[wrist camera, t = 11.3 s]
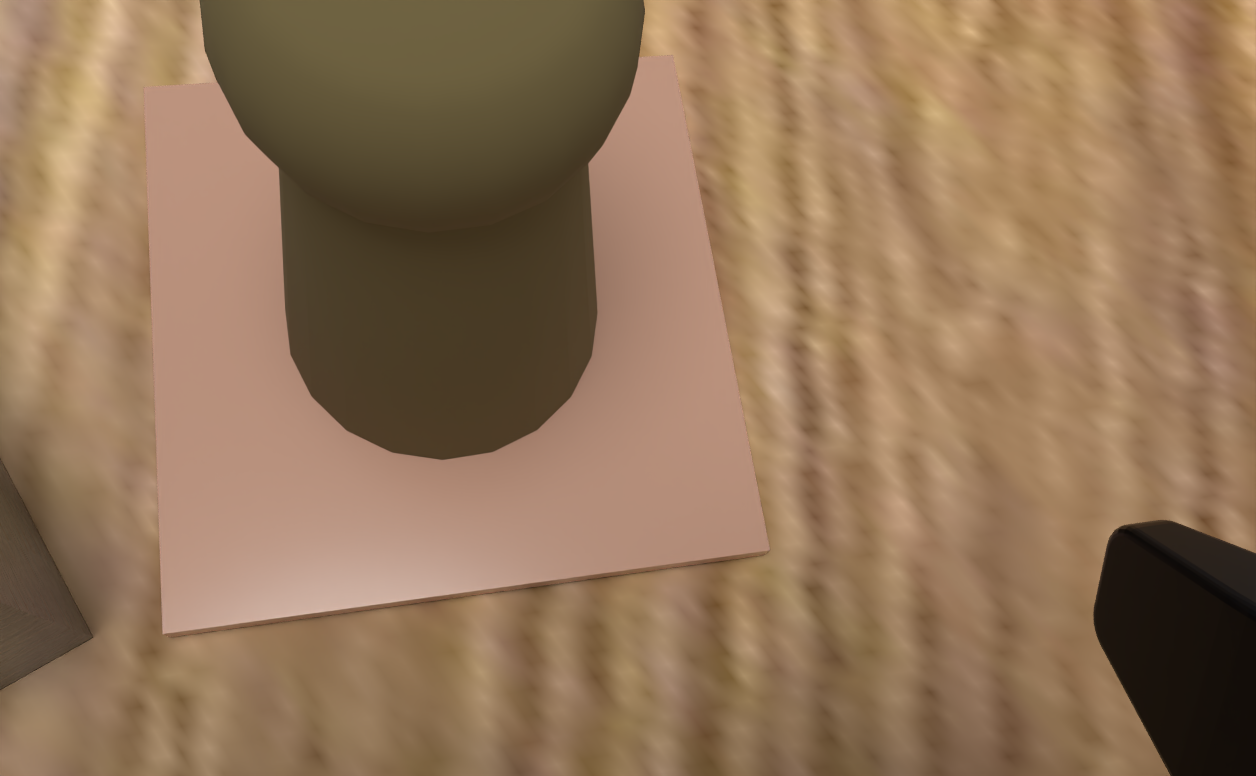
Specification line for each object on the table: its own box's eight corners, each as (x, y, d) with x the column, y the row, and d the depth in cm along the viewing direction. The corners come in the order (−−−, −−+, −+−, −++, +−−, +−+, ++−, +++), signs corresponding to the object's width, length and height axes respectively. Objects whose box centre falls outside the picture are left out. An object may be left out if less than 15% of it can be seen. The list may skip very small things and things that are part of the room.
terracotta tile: (764, 555, 22) (770, 550, 22) (169, 637, 20) (163, 634, 20) (668, 68, 26) (672, 55, 25) (150, 100, 24) (143, 87, 23)
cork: (602, 459, 22) (720, 171, 12) (276, 460, 21) (92, 153, 11) (592, 177, 24) (686, -282, 14) (293, 169, 23) (150, -327, 13)
